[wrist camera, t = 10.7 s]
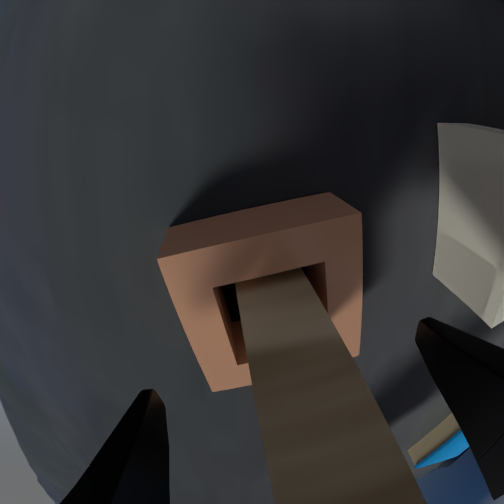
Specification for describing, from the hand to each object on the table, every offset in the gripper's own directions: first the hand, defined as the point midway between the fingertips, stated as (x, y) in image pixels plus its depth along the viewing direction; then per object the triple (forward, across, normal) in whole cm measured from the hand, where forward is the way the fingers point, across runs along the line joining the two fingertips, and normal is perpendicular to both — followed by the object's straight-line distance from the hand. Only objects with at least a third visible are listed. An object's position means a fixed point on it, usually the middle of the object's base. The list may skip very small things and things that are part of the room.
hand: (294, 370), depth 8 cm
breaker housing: (+6, -16, -3) cm, 17 cm away
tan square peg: (+6, 0, 0) cm, 6 cm away
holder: (+6, 0, 0) cm, 6 cm away
